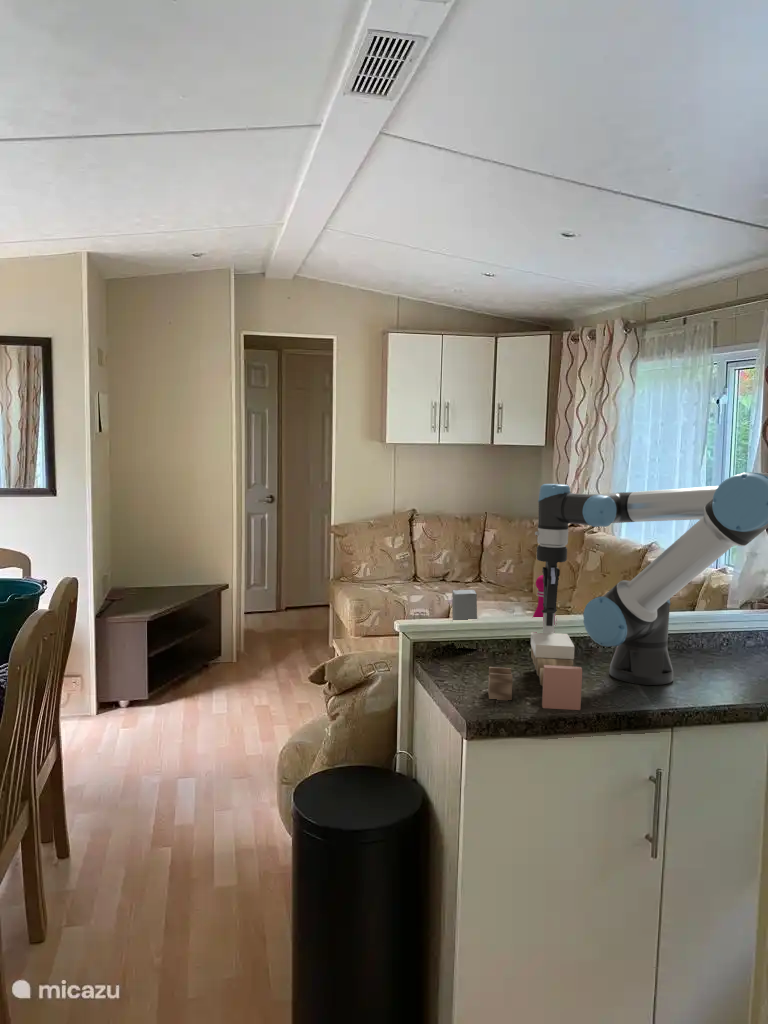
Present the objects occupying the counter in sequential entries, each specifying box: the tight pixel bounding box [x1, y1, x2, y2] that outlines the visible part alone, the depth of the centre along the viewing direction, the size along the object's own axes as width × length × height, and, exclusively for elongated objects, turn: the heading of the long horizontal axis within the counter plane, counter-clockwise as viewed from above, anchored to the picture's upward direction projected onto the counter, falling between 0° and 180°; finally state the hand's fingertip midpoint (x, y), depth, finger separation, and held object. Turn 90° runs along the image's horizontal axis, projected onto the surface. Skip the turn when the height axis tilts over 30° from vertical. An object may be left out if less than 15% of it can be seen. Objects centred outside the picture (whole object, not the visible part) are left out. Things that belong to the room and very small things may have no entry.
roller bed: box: [530, 645, 574, 687], centre depth 192 cm, size 8×30×7 cm, turn 175°
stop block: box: [541, 665, 583, 711], centre depth 176 cm, size 8×2×9 cm, turn 85°
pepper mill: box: [532, 574, 557, 618], centre depth 243 cm, size 7×7×20 cm
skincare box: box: [451, 589, 478, 621], centre depth 228 cm, size 8×7×16 cm
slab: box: [530, 631, 576, 660], centre depth 197 cm, size 9×13×3 cm
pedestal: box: [487, 666, 514, 701], centre depth 184 cm, size 5×6×6 cm
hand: (548, 637), depth 206 cm, fingers closed
